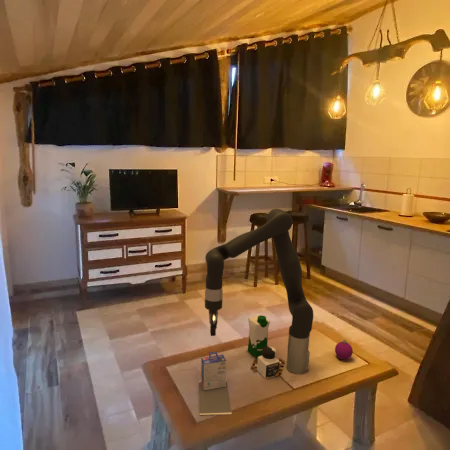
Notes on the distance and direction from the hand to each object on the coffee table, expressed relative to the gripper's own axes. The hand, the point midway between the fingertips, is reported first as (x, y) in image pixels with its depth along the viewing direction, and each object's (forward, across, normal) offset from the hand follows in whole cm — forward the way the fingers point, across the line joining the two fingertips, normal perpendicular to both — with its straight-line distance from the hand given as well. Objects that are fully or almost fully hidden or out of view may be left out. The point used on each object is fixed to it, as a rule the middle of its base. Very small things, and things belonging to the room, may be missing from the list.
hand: (212, 334), depth 160 cm
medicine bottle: (+19, -1, -25) cm, 32 cm away
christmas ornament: (+19, +9, -64) cm, 67 cm away
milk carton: (+19, +15, -23) cm, 34 cm away
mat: (+19, -16, 0) cm, 25 cm away
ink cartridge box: (+19, -9, 0) cm, 21 cm away
